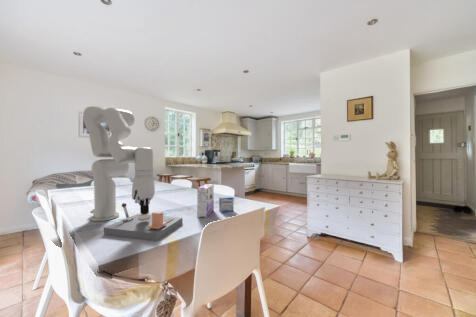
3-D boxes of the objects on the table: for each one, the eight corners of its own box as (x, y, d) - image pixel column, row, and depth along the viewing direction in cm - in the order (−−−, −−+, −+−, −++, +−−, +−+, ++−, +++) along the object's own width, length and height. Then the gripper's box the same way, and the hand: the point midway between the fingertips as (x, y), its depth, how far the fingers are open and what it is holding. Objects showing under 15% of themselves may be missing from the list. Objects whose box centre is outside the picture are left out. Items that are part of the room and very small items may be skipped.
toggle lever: (124, 219, 92) (120, 204, 92) (127, 217, 94) (123, 203, 94) (127, 218, 91) (123, 203, 92) (131, 216, 93) (126, 202, 94)
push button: (135, 220, 88) (135, 215, 88) (143, 216, 93) (143, 211, 93) (145, 221, 87) (145, 215, 87) (152, 217, 92) (152, 212, 92)
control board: (103, 234, 83) (103, 226, 83) (138, 219, 103) (138, 212, 103) (156, 241, 77) (156, 231, 77) (182, 223, 97) (182, 216, 97)
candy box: (204, 210, 120) (204, 183, 120) (213, 210, 120) (214, 184, 119) (197, 217, 107) (197, 187, 106) (207, 217, 106) (207, 187, 106)
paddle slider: (147, 227, 82) (147, 214, 82) (157, 223, 88) (156, 210, 87) (158, 229, 81) (158, 215, 80) (166, 224, 86) (166, 211, 86)
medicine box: (221, 213, 115) (221, 198, 115) (219, 210, 119) (219, 196, 119) (233, 211, 118) (233, 197, 118) (231, 209, 122) (231, 195, 122)
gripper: (148, 172, 98) (148, 208, 98) (124, 175, 83) (125, 218, 84) (161, 172, 96) (161, 209, 96) (139, 175, 82) (139, 219, 82)
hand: (144, 213), depth 90 cm, fingers closed
